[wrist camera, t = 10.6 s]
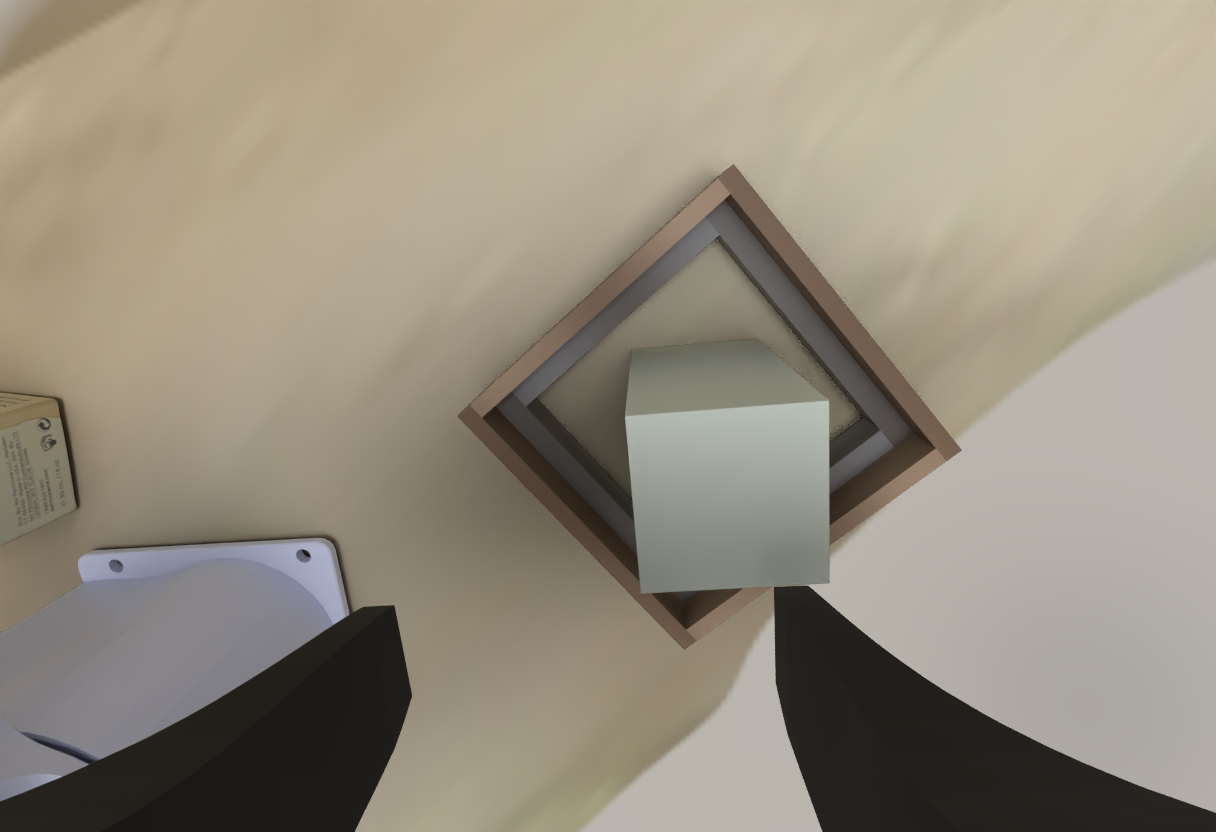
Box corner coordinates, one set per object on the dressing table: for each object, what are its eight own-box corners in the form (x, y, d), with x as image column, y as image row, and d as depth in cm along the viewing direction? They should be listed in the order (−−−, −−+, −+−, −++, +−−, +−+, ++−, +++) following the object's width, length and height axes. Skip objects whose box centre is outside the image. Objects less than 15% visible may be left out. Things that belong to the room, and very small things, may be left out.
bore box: (678, 597, 23) (684, 649, 20) (482, 391, 21) (457, 416, 18) (916, 420, 20) (961, 450, 18) (719, 175, 19) (733, 164, 16)
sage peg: (641, 466, 21) (640, 593, 14) (631, 349, 20) (624, 416, 13) (761, 458, 21) (829, 583, 13) (757, 338, 20) (828, 400, 12)
